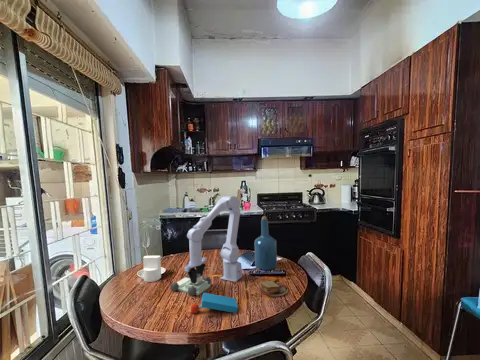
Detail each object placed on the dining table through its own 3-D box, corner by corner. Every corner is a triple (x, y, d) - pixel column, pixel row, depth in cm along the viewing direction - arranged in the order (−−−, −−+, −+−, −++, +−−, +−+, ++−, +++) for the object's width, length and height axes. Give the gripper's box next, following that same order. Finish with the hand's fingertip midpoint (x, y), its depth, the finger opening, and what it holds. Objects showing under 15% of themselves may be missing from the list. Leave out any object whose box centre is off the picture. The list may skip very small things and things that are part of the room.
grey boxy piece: (202, 283, 116) (202, 273, 115) (197, 287, 112) (197, 276, 112) (195, 282, 118) (195, 272, 118) (190, 285, 114) (189, 275, 114)
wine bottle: (258, 272, 132) (257, 219, 132) (252, 264, 145) (250, 215, 145) (281, 269, 135) (279, 217, 135) (272, 261, 148) (271, 214, 148)
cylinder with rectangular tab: (163, 274, 133) (163, 253, 133) (156, 281, 124) (155, 259, 124) (148, 274, 134) (148, 253, 134) (140, 281, 125) (139, 259, 125)
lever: (232, 314, 100) (190, 307, 98) (235, 298, 101) (194, 290, 98) (233, 324, 94) (189, 316, 91) (237, 307, 94) (193, 299, 92)
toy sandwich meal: (293, 295, 106) (293, 284, 106) (265, 300, 102) (265, 289, 102) (280, 283, 118) (280, 274, 118) (255, 288, 114) (255, 278, 114)
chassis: (212, 285, 118) (211, 277, 118) (195, 297, 107) (195, 288, 107) (187, 279, 126) (187, 272, 126) (169, 290, 114) (169, 282, 114)
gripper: (198, 248, 123) (199, 274, 123) (179, 257, 110) (180, 285, 110) (209, 249, 119) (210, 276, 120) (190, 258, 107) (191, 288, 107)
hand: (196, 281), depth 115 cm, fingers open, 4 cm apart
